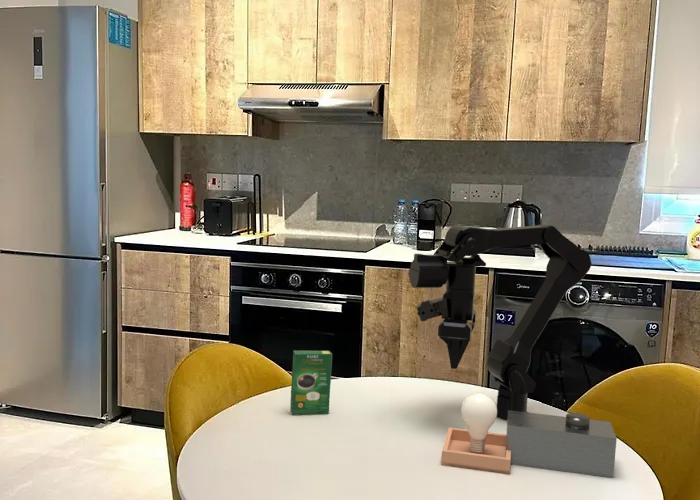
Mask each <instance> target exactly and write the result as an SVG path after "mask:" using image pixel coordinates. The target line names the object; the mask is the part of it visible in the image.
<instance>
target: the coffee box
mask: <svg viewBox="0 0 700 500" xmlns="http://www.w3.org/2000/svg"><path fill="white" fill-rule="evenodd" d="M292 353H293V354H292V355H293V356H292V367H291V369H292V371H291V387H290V388H291V389H290V404H289V405H290V414H291V415H294V416H295V415H323V414H324V415H325V414H329V413H330V399H331V398H330V396H331V382H332V380H331V379H332V368H333V367H332V365H333V353H332V352H331V351H330V350H293V352H292Z"/></svg>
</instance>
